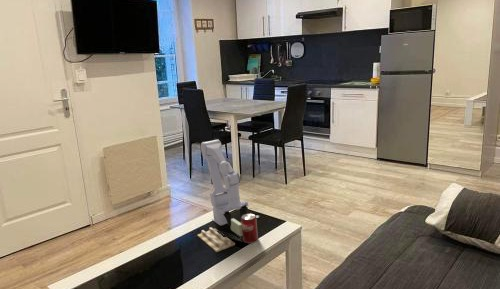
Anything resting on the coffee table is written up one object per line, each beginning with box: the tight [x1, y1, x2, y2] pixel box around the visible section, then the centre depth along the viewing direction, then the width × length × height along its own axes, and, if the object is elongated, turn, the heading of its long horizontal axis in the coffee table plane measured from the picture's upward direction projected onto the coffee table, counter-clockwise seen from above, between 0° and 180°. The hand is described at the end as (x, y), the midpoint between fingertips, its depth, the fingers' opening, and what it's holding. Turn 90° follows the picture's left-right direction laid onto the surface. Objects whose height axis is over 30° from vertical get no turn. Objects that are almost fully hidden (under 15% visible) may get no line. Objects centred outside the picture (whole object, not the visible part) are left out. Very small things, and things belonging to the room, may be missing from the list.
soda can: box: [240, 213, 259, 244], centre depth 174 cm, size 7×7×12 cm
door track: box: [197, 226, 236, 253], centre depth 177 cm, size 20×10×2 cm, turn 33°
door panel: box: [230, 217, 243, 237], centre depth 183 cm, size 9×2×6 cm, turn 33°
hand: (236, 222), depth 182 cm, fingers open, 7 cm apart
